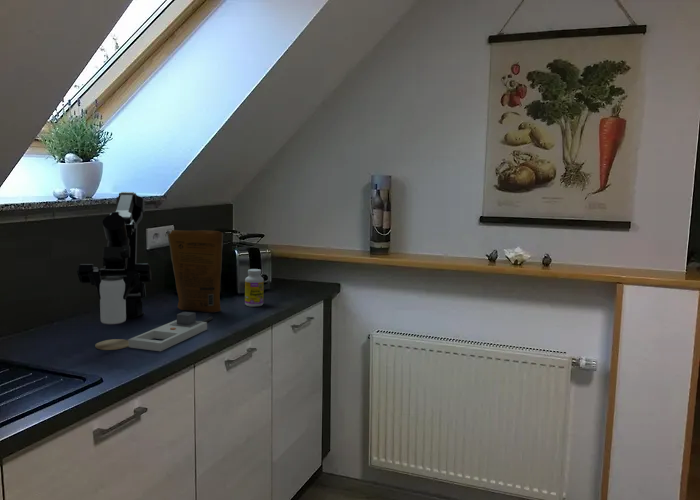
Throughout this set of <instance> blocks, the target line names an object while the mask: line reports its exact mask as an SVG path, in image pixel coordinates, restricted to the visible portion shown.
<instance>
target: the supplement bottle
mask: <svg viewBox="0 0 700 500" xmlns="http://www.w3.org/2000/svg"><path fill="white" fill-rule="evenodd" d="M247 275H248V276H247V277H245V279H244V282H245V283H244V305H245V306H246V307H250V308H251V307H256V308H257V307H261V306H263V304H264V289H265V288H264V287H265V285H264V283H265V282H264V280H265V279H264V277H263V276H261V275H262V269H260V268H259V269H258V268H250V269H248V270H247Z"/></svg>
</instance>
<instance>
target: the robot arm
mask: <svg viewBox="0 0 700 500" xmlns="http://www.w3.org/2000/svg"><path fill="white" fill-rule="evenodd" d="M115 200H116V203H115V211H111V212H110V213H109V215H107V216H106V217H104V219H102V228H103V231H104V235H105V239H106V241H107V246H103V247H102V265H103V267H104V268H100V267H98V266H95V264H94V263H79V265H77V268H76V274H77V275H78V276H77V277H78V280H79V283H81V284H90V285H91V286H95V287H96V291H97V294H98V298H99V300H100V299H101V297H100V283H101V278H102V277H123V280H124V282H125V292H124V295H123V299H124V300H125V299H126V319H134V318H137V317H140V316H143V315H145V311H143V302H142V299H143V298H146V297H147V294H146V293H147V292H146V290H147V289H146V283H151V281H152V270H151V269H152V268H151V265H150V264H149V263H148V262H147V263H137V257H138V225H139V224H140V222H141V221H142V220H143V213H145V209H146V206H145V205H146V204H145V200H144V198H143V197H142V196H139V195H137V193H136V192H133V191H121V192H119V193H118V196H117V197H116V199H115Z"/></svg>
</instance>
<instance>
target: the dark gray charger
mask: <svg viewBox="0 0 700 500" xmlns="http://www.w3.org/2000/svg"><path fill="white" fill-rule="evenodd" d="M196 316H197V315H196V312H193V311H182V312H180V313H177V314H176V320H177V324H183V325H190V324H192V323H195V322H196V321H197V318H196Z"/></svg>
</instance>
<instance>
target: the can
mask: <svg viewBox="0 0 700 500" xmlns="http://www.w3.org/2000/svg"><path fill="white" fill-rule="evenodd" d="M124 292H125V282H124V280H123V277H117V276H115V277H106V276H103V277H101V283H100V297H101V299H99V308H100V310H99V311H100V313H99V314H100V316H99V317H100V322H101V324H104V325H120V324H123V323H125V322H126V320H127V318H126V299H125V300H124V299H123V295H124Z"/></svg>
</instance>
